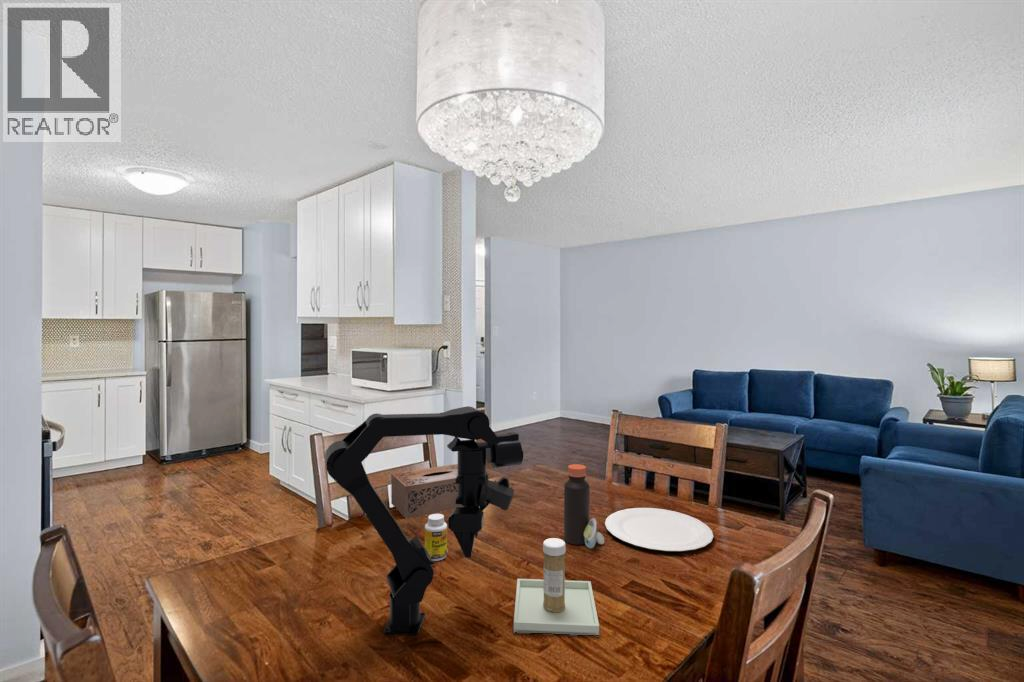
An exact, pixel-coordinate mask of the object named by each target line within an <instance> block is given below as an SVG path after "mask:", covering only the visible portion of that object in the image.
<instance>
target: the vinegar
mask: <svg viewBox="0 0 1024 682" xmlns="http://www.w3.org/2000/svg"><path fill="white" fill-rule="evenodd" d="M567 476H568V480H567V481H566V482H565V483H564V488H563V494H564V495H563V496H564V497H563V501H564V503H563V507H564V508H563V541H564V542H565V543H567V544H570V545H574V546H581V545H586V544H585V541H584V531H585V528H586V526H587V525H588V522H589V520H590V491H591V489H590V484H589V483H588V482H587V481H586V476H587V466H585V465H584V464H578V463H575V464H570V465H568V466H567ZM587 543H588V540H587Z"/></svg>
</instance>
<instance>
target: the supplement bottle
mask: <svg viewBox="0 0 1024 682" xmlns="http://www.w3.org/2000/svg"><path fill="white" fill-rule="evenodd" d="M427 516H428V517H427V523H425V525H424V548H426V550H427V551H428V553H429V555H430V557H431V559H432V560H433V562H438V561H442V560H444V559H445V558H446V557H447V554H448V524H447V522H446V521H445V515H444V514H442V513H432V514H428V515H427Z"/></svg>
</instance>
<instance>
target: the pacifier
mask: <svg viewBox="0 0 1024 682" xmlns="http://www.w3.org/2000/svg"><path fill="white" fill-rule="evenodd" d="M597 525H598V524H597V520H596V518H595V517H591V518H589V522H588V525H587V526H586V528H585V531H584V541H585V544H584V545H585V546H586V548H588V549H593V548H594V547H595V546H596V543H597V544H599V545H604V544H605V538H604V535H603V534H602V533H601V532H599V531H598V532H597V528H598V527H597ZM587 540H588V542H587Z"/></svg>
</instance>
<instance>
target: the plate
mask: <svg viewBox="0 0 1024 682" xmlns="http://www.w3.org/2000/svg"><path fill="white" fill-rule="evenodd" d="M604 525H605V528H606V530H607V532H608V533H610V534H611V535H612V536H613V537H615V538H617V539H618V540H621V542H624V543H626V544H629V545H631V546H635V547H638V548H643V549H647V550H650V551H651V550H652V551H658V552H666V553H667V552H673V553H675V552H690V551H696V550H699V549H702V548H705V547H707V546H708V545H710V544H711V543H712V542H713V539H714V537H715V536H714V533H713V530H712V529H711V528H710V527H709V526H708V524H706V523H704V522H702V521H701V520H699V519H698V518H696V517H693V516H691V515H688V514H685V513H682V512H678V511H674V510H669V509H666V508H665V509H664V508H655V507H633V508H625V509H621V510H618V511H616V512H613V513H610V514H609V515H608V516H607V518H606V519H605V522H604Z"/></svg>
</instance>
